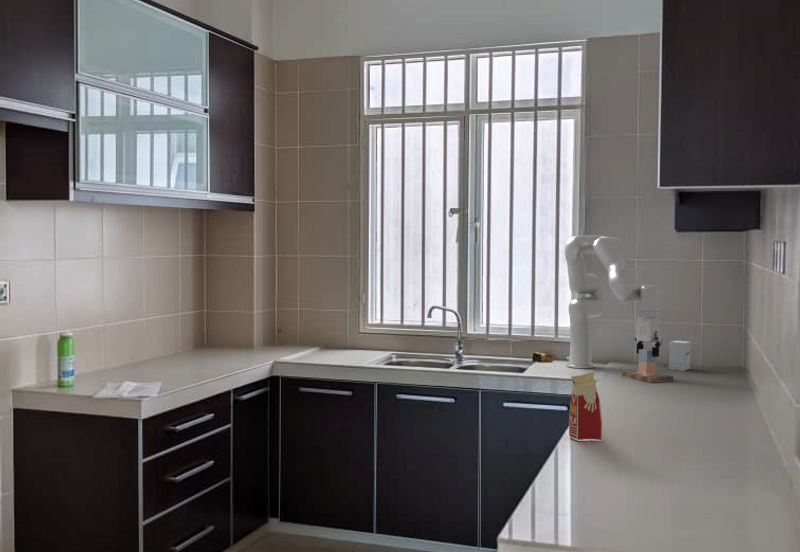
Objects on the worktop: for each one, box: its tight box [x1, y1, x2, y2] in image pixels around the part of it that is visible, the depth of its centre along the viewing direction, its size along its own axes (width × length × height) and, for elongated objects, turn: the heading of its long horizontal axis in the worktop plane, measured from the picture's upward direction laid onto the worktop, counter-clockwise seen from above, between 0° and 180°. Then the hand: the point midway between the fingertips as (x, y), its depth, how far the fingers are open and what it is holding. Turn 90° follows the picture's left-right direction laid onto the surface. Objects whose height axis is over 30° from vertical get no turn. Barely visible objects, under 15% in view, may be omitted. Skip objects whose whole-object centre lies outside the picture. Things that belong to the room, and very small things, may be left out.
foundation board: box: [621, 369, 674, 384], centre depth 343 cm, size 18×12×2 cm, turn 23°
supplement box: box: [668, 340, 691, 372], centre depth 367 cm, size 7×7×13 cm
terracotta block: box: [637, 360, 657, 375], centre depth 343 cm, size 5×5×5 cm
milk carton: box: [568, 370, 604, 441], centre depth 240 cm, size 9×9×20 cm
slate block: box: [638, 348, 657, 363], centre depth 342 cm, size 5×5×5 cm
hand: (647, 355), depth 342 cm, fingers open, 9 cm apart
